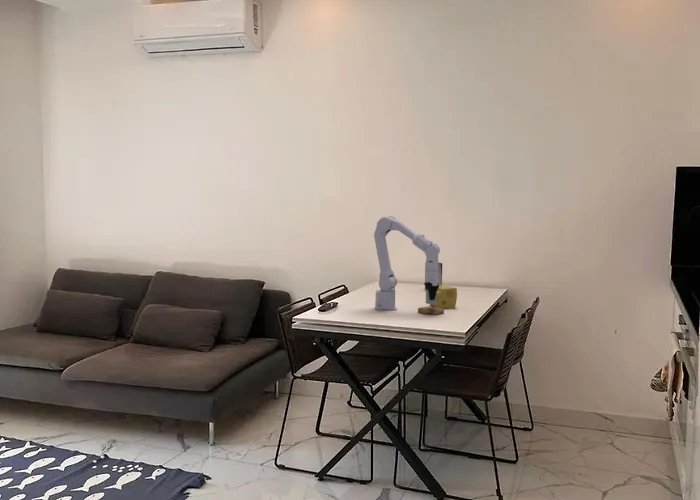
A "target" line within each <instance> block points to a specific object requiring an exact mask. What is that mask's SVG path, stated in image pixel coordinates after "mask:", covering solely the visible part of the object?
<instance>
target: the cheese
mask: <svg viewBox="0 0 700 500" xmlns="http://www.w3.org/2000/svg"><path fill="white" fill-rule="evenodd" d="M457 299H458V289H457V287H453V286H450V285H442V286H439V288H438V290H437V292H436V304H429V305H430V306H429V307H437V308H442V309H456V305H457Z"/></svg>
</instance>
